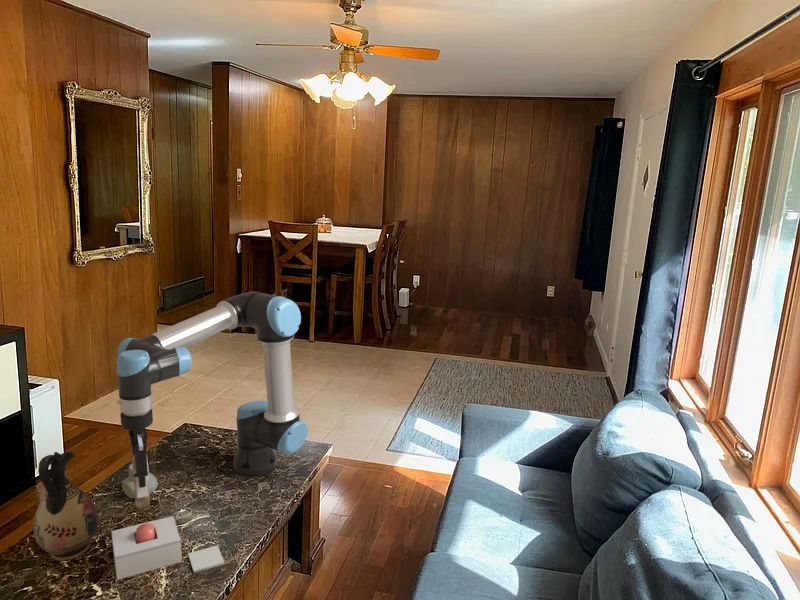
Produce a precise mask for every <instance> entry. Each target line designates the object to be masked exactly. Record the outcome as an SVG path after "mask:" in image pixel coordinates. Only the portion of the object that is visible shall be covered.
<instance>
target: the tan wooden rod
mask: <svg viewBox="0 0 800 600" xmlns="http://www.w3.org/2000/svg"><path fill="white" fill-rule="evenodd" d="M131 461H132V462H131V464H132V465H133V474H136V463H135V455H133V454H132V456H131ZM148 465H149V463H148V464H147V470H148ZM133 479H134V494H135V498H134V506H135V508H137V509H143V508H146V507H149V505H150V503H151V499H150V497H151V496H150V495H151V494H150V495H149V496H146V497H141V498H137V488H136V477H133ZM147 479H148V476H147ZM148 494H149V480H148Z"/></svg>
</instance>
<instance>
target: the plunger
mask: <svg viewBox="0 0 800 600" xmlns="http://www.w3.org/2000/svg"><path fill="white" fill-rule="evenodd" d="M146 523H147V522H146ZM141 524H142V525H140V526H139V527H138V528H137V529H136V532H137V544H138V543H142V542H146V541H150V540H154V539H155V534H154V525H153V524H149V523H147V524H143V523H141Z"/></svg>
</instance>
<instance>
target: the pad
mask: <svg viewBox="0 0 800 600" xmlns="http://www.w3.org/2000/svg"><path fill="white" fill-rule="evenodd" d="M187 557H188V560H189V563H190V565H191V568H192V572H193V573H194V574H195V573H198V572H202V571H206V570H209V569H212V568H213V569H214V568H217V567H219V566H223V565H225V560H224V558H223V555H222V553H221V549H220V547H219V545H218V544H217V545H213V546H210V547H206V548H203V549H199V550H196V551H192V552H188V553H187Z"/></svg>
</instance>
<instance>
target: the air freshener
mask: <svg viewBox="0 0 800 600" xmlns="http://www.w3.org/2000/svg"><path fill="white" fill-rule="evenodd" d="M147 464H148V480H149V495H151V494H153V493H154V492H155V491H156V490H157V488H158V486H159V483H158V479H157V478H156V477H155V475H154V474H153V473H151V472H150V467H149V465H150V464H149V463H148V462H147ZM121 487H122V490H123V492H124V494H125V495H126V496H127V497H128V498H129V499H130V498H131V499H135V494H134V479H133V465H132V463H131V464H129V466H128V476H127V477H126V478H125V479H124V480H123V482H122V484H121Z"/></svg>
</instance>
